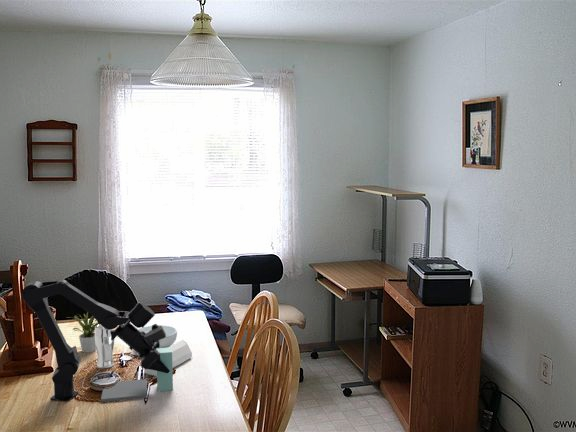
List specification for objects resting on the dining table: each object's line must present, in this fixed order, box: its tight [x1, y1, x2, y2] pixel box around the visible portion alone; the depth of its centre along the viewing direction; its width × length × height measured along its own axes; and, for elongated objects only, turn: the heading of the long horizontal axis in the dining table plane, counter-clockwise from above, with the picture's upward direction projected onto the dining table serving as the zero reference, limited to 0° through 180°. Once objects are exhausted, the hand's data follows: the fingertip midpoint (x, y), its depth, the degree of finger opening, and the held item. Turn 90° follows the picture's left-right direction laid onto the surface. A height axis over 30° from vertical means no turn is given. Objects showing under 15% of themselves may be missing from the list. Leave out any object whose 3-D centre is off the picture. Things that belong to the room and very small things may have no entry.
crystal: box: [143, 339, 193, 377], centre depth 220 cm, size 7×7×24 cm
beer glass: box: [94, 324, 115, 369], centre depth 219 cm, size 7×7×15 cm
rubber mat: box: [100, 378, 148, 403], centre depth 195 cm, size 14×14×1 cm
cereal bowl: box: [137, 324, 178, 348], centre depth 239 cm, size 17×17×7 cm
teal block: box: [156, 346, 174, 392], centre depth 198 cm, size 5×5×13 cm
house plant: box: [65, 311, 100, 353], centre depth 235 cm, size 14×14×16 cm
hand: (168, 367), depth 198 cm, fingers open, 9 cm apart
